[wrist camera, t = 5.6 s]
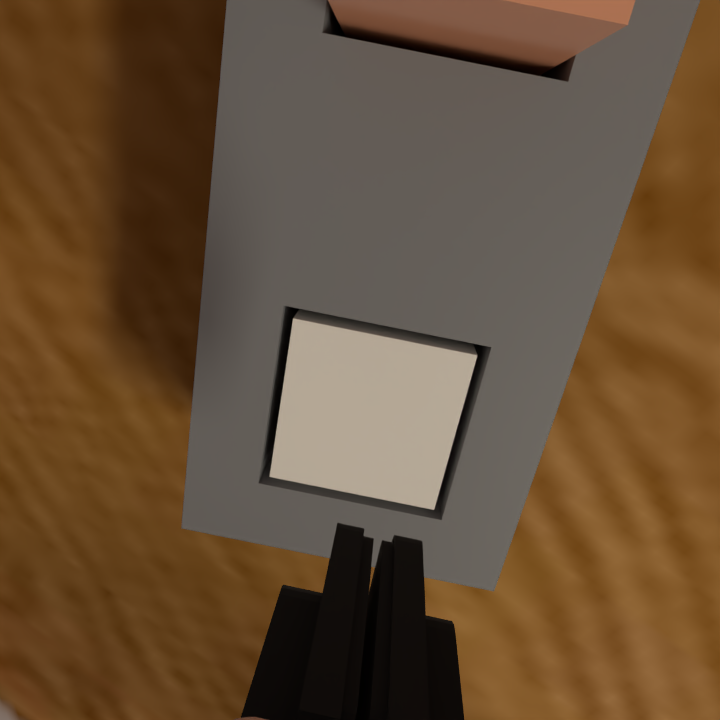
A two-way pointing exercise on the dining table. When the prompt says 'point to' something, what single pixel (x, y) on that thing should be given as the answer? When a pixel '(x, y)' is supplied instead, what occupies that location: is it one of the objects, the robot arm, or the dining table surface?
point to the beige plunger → (369, 408)
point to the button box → (408, 254)
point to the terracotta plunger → (486, 28)
